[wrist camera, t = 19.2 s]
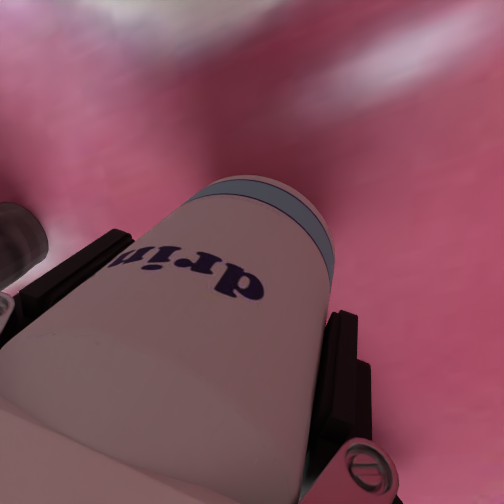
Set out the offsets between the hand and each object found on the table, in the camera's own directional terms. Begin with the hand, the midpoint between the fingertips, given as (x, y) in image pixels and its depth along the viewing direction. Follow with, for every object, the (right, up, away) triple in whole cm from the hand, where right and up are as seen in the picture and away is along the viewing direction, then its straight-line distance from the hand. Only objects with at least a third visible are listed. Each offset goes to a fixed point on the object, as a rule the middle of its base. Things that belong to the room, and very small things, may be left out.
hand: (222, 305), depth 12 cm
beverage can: (+1, +2, +4) cm, 5 cm away
